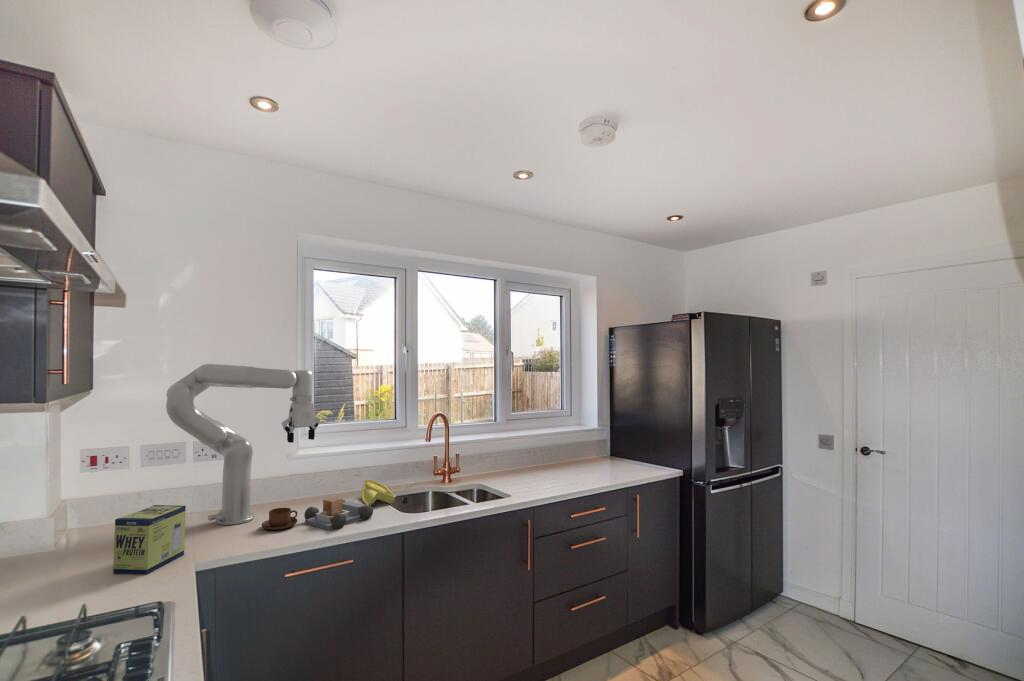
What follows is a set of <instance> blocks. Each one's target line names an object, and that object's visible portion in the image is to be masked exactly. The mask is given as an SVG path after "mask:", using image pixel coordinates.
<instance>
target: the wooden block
mask: <svg viewBox="0 0 1024 681" xmlns="http://www.w3.org/2000/svg"><path fill="white" fill-rule="evenodd" d="M343 500H344V499H343V498H341V497H337V496H333V497H330V498H325V499H323V500H322V511H323V515H327V516H334V515H335V514H337V513H342V508H343Z"/></svg>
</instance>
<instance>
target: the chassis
mask: <svg viewBox="0 0 1024 681" xmlns="http://www.w3.org/2000/svg"><path fill="white" fill-rule="evenodd" d="M373 514H374V508H373V506H372V505H371V506H370V505H366V504H365V503H364V504H363V503H360V502H359V503H358V502H354V501H351V500H350V501H349V500H344V499H343V508H342V513H337V514H335V515H334V516H327V515H323V510H322V511H320V509H319V508H318V507H316V506H309V507H307V508H306V509H305V511H304V515H303V516H304V524H306V525H308V526H313V527H316V528H320V529H323V530H327V531H331V530H334V529H342V528H343V527H344V526H347V525H349V524H352V523H355V522H359V521H361V520H369V519H371V518H372V516H373Z"/></svg>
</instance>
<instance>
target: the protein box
mask: <svg viewBox="0 0 1024 681" xmlns="http://www.w3.org/2000/svg"><path fill="white" fill-rule="evenodd" d="M186 509H187V508H186V505H169V504H168V505H167V504H165V505H164V504H163V505H161V504H154V505H152V506H149V507H145V508H143V509H140V510H137V511H134V512H133V513H129V514H128V515H127V514H126V515H123V516H122V517H117V518H116V519H114V539H113V540H114V543H113V565H112V566H113V567H112V568H113V569H112V574H113V575H116V574H117V575H145V576H147V575H149V574H150V573H152V572H154V571H157V570H158V569H160V568H162V567H164V566H165V565H168V564H170V563H172V562H174V561H176V560H177V559H179V558H181V557H183V556H185V540H186V539H185V533H186Z"/></svg>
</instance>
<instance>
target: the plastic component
mask: <svg viewBox="0 0 1024 681" xmlns="http://www.w3.org/2000/svg"><path fill="white" fill-rule="evenodd" d="M360 495H361V496H360V498H361V501H362V502H363V503H364V505H370V506H372V505H373V504H374V503H375V502H376V501H377V500H379V501H382V502H384V503H387V504H393V503H394V501H395V499H396V495H395V494H394V493H393V492H392V490H390V489H389V488H388V487H386V486H385V485H384V484H382V483H380V482H379V481H378V482H377V481H375V480H372V479H369V478H366V479H365V481H364V483H363V486H362V490H361V494H360Z"/></svg>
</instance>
